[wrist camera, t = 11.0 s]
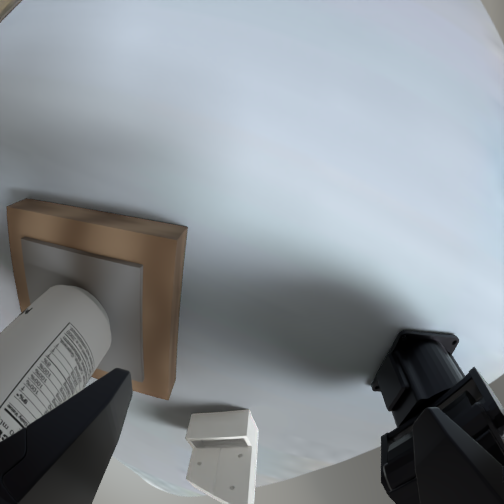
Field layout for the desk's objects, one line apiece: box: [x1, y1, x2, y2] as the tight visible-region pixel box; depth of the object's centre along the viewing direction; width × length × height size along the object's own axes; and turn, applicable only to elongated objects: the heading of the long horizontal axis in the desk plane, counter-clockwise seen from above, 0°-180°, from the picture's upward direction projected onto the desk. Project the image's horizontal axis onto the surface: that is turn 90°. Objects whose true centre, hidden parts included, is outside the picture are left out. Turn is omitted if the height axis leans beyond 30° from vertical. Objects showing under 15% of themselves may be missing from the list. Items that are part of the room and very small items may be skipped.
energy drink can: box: [0, 285, 111, 441], centre depth 12 cm, size 6×6×15 cm
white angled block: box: [185, 409, 259, 504], centre depth 23 cm, size 4×10×9 cm, turn 105°
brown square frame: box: [7, 198, 188, 400], centre depth 21 cm, size 14×14×3 cm
